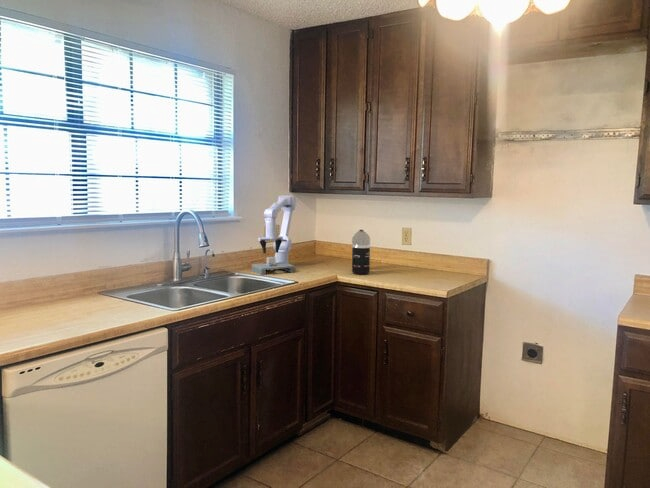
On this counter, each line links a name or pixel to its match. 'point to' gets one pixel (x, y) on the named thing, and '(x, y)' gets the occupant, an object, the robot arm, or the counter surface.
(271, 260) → the peg
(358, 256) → the black and grey bottle
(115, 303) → the counter surface
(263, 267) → the keyhole plate
